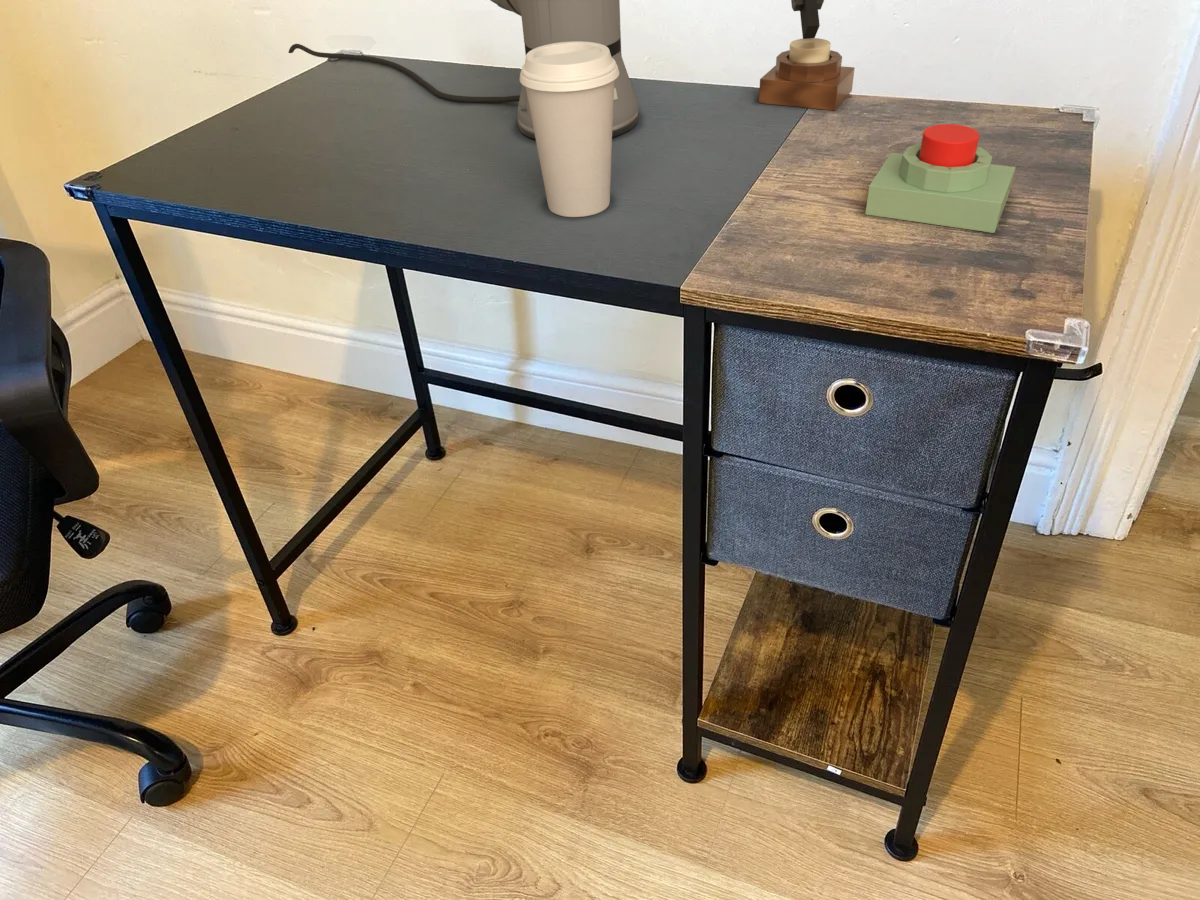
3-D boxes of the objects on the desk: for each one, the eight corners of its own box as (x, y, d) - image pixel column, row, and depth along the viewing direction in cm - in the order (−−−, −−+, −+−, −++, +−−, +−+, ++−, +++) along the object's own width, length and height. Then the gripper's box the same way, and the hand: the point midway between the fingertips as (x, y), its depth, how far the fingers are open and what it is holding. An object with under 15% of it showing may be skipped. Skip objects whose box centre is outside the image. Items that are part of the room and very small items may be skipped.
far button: (783, 68, 111) (784, 47, 109) (795, 57, 114) (797, 36, 113) (822, 71, 109) (824, 50, 107) (833, 60, 112) (835, 39, 111)
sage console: (864, 214, 86) (871, 164, 83) (886, 180, 92) (894, 132, 89) (994, 233, 81) (1007, 181, 78) (1008, 196, 87) (1020, 146, 84)
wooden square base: (758, 103, 113) (760, 62, 110) (778, 84, 119) (781, 45, 116) (834, 110, 110) (839, 68, 106) (851, 91, 115) (856, 50, 112)
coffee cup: (627, 185, 95) (622, 37, 86) (620, 223, 88) (613, 66, 78) (541, 186, 96) (526, 40, 87) (526, 224, 89) (508, 69, 79)
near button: (913, 165, 83) (918, 139, 82) (924, 147, 87) (929, 121, 85) (969, 172, 81) (974, 145, 80) (978, 153, 85) (983, 127, 83)
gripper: (836, -124, 116) (854, 45, 113) (737, -116, 116) (754, 53, 113) (851, -170, 108) (872, 10, 106) (746, -162, 108) (764, 18, 106)
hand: (811, 32), depth 109 cm, fingers closed
